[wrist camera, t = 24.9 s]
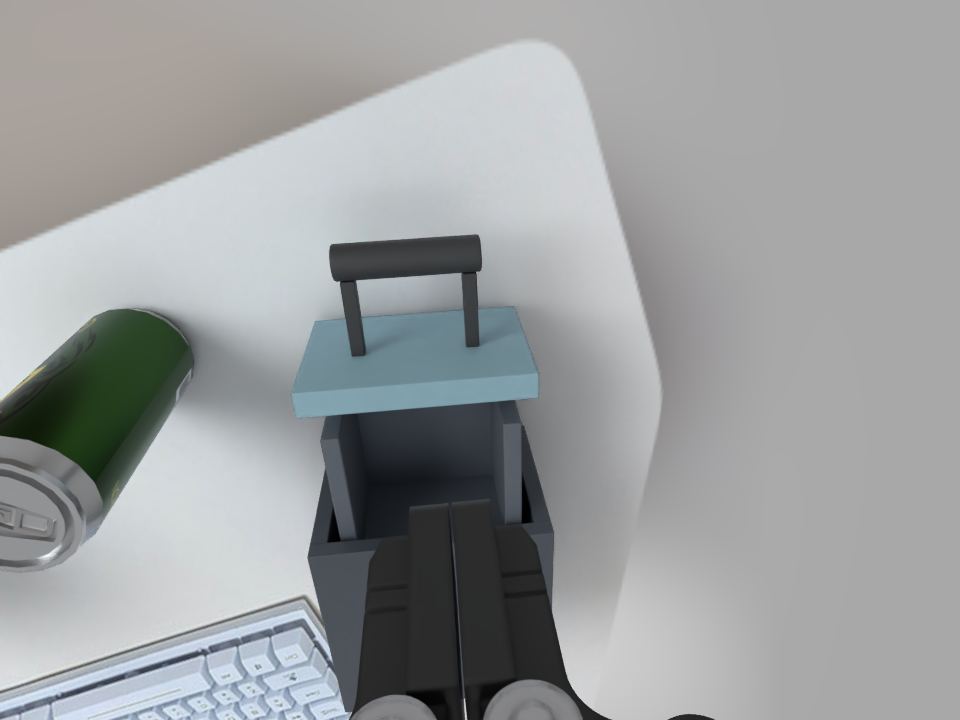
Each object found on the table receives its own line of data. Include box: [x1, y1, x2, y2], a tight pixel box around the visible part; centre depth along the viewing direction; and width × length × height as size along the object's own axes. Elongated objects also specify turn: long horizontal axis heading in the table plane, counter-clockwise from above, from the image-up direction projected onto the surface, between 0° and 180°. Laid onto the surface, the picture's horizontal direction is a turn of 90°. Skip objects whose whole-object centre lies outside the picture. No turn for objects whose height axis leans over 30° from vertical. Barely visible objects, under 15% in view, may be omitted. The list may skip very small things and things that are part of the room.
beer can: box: [0, 308, 194, 572], centre depth 25 cm, size 5×5×12 cm
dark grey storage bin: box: [307, 426, 554, 712], centre depth 34 cm, size 12×11×9 cm
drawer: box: [291, 235, 539, 542], centre depth 29 cm, size 15×10×7 cm, turn 2°
